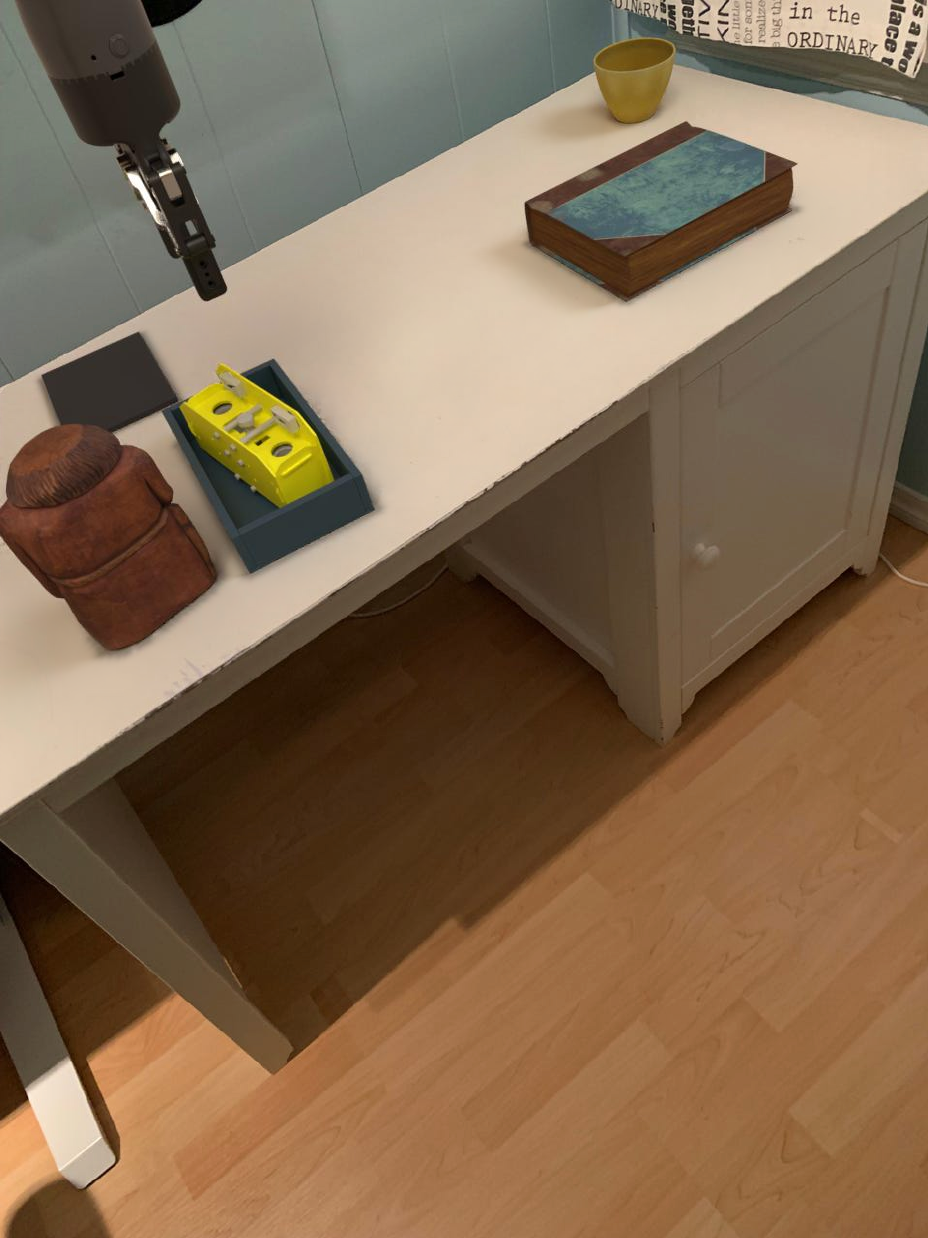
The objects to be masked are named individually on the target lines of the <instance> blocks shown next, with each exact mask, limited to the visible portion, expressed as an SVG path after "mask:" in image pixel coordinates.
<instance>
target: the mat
mask: <svg viewBox="0 0 928 1238" xmlns="http://www.w3.org/2000/svg"><path fill="white" fill-rule="evenodd" d="M41 378H42V382H43V384H44V386H45V389H46V392H47V394H48V396H49V399H50V402H51V405H52V407H53V409H54V412H55V415H56V417H57V420H58V422H59V424H60V425H68V424H87V425H93V426H98V427H100V428H102V429H104V430H106V431H108V432H111V433H113V432H115V431H118V430H120V429H122V428H124V427H126V426H128V425H130V424H132V423H135V422H136V421H139V420H141V419H143V418H146V417H147V416H149V415H152V414H154V413H156V412H158V411H161V410H163V409H165V408H168V407H170V406H172V405H174V404H176V403H179V398H178V397H177V395H176V393H175V392H174V390H173V388H172V387H171V384H170V383H169V381H168V379H167V378H166V376H165V374H164V373H163V371H162V369H161V367H160V365H159V363H158V362H157V361H156V359H155V357H154V355H153V354H152V352H151V350H150V348H149V346H148V345H147V343H146V341H145V339H144V337H143V336H142V334H141V333H140V331H136V332H134V333H132V334H130V335H128V336H127V335H126V337H123V338H120V339H119V340H117V341H114V342H112V343H109V344H108V345H107V344H106V345H105V346H103V347H101V348H98V349H95V350H94V351H91V352H89V353H86V354H85V355H83V356H81V357H78V358H75V359H73V360H72V361H69V362H67V363H64V364H63V365H60V366H58V367H56V368H54V369H51V370H49V371H46V372H45V373H42V374H41ZM60 425H59V426H60Z"/></svg>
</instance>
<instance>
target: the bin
mask: <svg viewBox="0 0 928 1238" xmlns="http://www.w3.org/2000/svg"><path fill="white" fill-rule="evenodd" d="M239 374H240V375H241V376H243V377H245V378H246V379H248V380H249V381H251V382H252V383H254V384H255V385H257V386H258V387H260V388H262V389H263V390H265V391H266V392H268V393H269V394H271V395H272V396H274V397H275V398H277V399H279V400H280V401H282V402H283V403H285V404H286V405H288V406H289V407H291V408H292V409H294V410H296V411H297V412H298V413H299V414H300V415H301V416H302V417H303V419H304V420H305V421H306V422H307V424H308V425H309V426H310V427H311V429H312V430H313V431H314V432H315V433H316V435H317V437H318V440H319V442H320V445H321V447H322V450H323V452H324V455H325V458H326V460H327V463H328V465H329V468H330V470H331V473H332V475H333V478H334V480H335V481H333V482H331V483H329V484H327V485H325V486H323V487H321V488H319V489H317V490H315V491H313V492H311V493H309V494H307V495H305V496H303V497H301V498H299V499H297V500H295V501H293V502H291V503H289V504H287V505H285V506H283V507H281V508H279V507H278V506H276V505H275V504H274V503H272V502H271V501H270V500H269V499H267V498H266V497H265V496H263V495H262V494H261V493H259V492H258V491H256V492H254V493H253V492H252V491H251V489H250V487H252V486H250V485H249V484H248V483H246V482H245V481H244V480H242V479H239V480H236V478H235V477H234V475H235V473H233V472H232V471H231V470H229V469H228V468H227V467H226V466H224V465H223V464H222V463H220V462H219V461H218V460H216V459H215V458H214V457H213V456H211V455H210V454H209V453H207V452H206V451H205V450H203V449H202V448H201V447H200V445H199V443H198V441H197V440H196V438H195V436H194V435H193V434H192V433H191V431H190V429H189V427H188V423H187V421H186V419H185V417H184V415H183V413H182V411H181V409H180V408H179V407H180V406H181V404H182V403H184V402H186V403H187V402H188V400H189V398H191V397H192V396H190V397H188V398H185V399H183V400H181V401H178V402H176V403H173V404H171V405H169V406H167V407H165V408H163V409H160V412H161V413H162V415H163V417H164V419H165V421H166V423H167V424H168V426H169V428H170V430H171V432H172V434H173V435H174V437H175V439H176V441H177V443H178V445H179V447H180V448H181V450H182V452H183V454H184V456H185V458H186V459H187V461H188V463H189V465H190V467H191V468H192V470H193V472H194V474H195V476H196V478H197V480H198V482H199V483H200V485H201V488H202V489H203V491H204V493H205V494H206V496H207V498H208V500H209V502H210V503H211V506H212V508H213V509H214V511H215V513H216V515H217V516H218V518H219V520H220V522H221V524H222V526H223V527H224V530H226V533H227V535H228V537H229V539H230V541H231V542H232V544H233V546H234V548H235V549H236V552H237V553H238V556H240V558H241V560H242V562H243V565H244V566H245V567H246V569H247V571H248V573H249V574H252V573H254V572H256V571H258V570H260V569H263V567H266V566H268V565H270V564H272V563H274V562H275V561H278V560H279V559H282V558H283V557H285V556H288V555H289V554H291V553H293V552H296V551H297V550H299V549H301V548H303V547H304V546H307V545H309V544H311V543H313V542H314V541H316V540H319V539H320V538H322V537H324V536H326V535H328V534H331V533H332V532H334V531H336V530H338V529H340V528H342V527H343V526H345V525H348V524H349V523H352V522H354V521H356V520H358V519H359V518H361V517H363V516H365V515H367V514H370V513H372V511H375V507H374V504H373V501H372V498H371V496H370V492H369V490H368V487H367V484H366V482H365V479H364V476H363V473H362V472H361V471H360V470H359V468H358V466H357V465H356V464H355V463H354V462H353V460H352V459H351V458H350V456H349V455H348V454H347V452H346V451H345V449H344V448H343V447H342V446H341V444H340V443H339V442H338V440H337V439H336V438H335V436H334V435H333V434H332V433H331V431H330V430H329V429H328V427H327V426H326V425H325V424H324V422H323V421H322V420H321V418H320V417H319V416H318V414H317V413H316V411H315V410H314V409H313V407H312V406H311V405H310V404H309V402H308V401H307V400H306V399H305V397H304V396H303V394H302V393H301V392H300V391H299V389H298V387H296V385H295V384H294V382H292V381H293V380H291V378H290V377H289V376H288V374H287V373H286V372H285V371H284V369H283V368H282V366H280V364H279V363H278V362H277V360H276V359H275V358H271V359H269V360H267V361H265V362H263V363H260V364H258V365H256V366H254V367H251V368H250V369H247V370H246V371H243V372H241V373H239ZM288 413H290V412H289V411H288ZM290 414H291V413H290ZM291 415H292V414H291ZM295 419H296V418H295ZM296 421H297V420H296ZM297 424H298V422H297ZM298 426H299V424H298ZM299 428H300V426H299Z"/></svg>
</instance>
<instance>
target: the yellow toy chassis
mask: <svg viewBox="0 0 928 1238" xmlns="http://www.w3.org/2000/svg"><path fill="white" fill-rule="evenodd" d="M215 372H216V374H217V376H218V379H219V380H220V383H210V385H208V386H206V387H204V388H203V389H202V390H200V391H198V392H197V393H195V394H193V395H192V396H190V397H191V398H189V397H188V398H189V400H188V402H187V403H186V402H184V403H182V404H181V406H180V407H179V408H180V409H181V411H182V413H183V415H184V417H185V419H186V421H187V423H188V427H189V429H190V431H191V433H192V434H193V435H194V436H195V438H196V440H197V441H198V443H199V445H200V447H201V448H202V449H203V450H205V451H206V452H207V453H209V454H210V455H211V456H213V457H214V458H215V459H216V460H218V461H219V462H220V463H222V464H223V465H224V466H226V467H227V468H228V469H229V470H231V471H232V472H233V473H235V475H234V477H235V478H236V480H239V479H242V480H244V481H245V482H246V483H248V484H249V485H250V486H252V487H250V489H251V491H252V492H253V493H254V492H256V491H258V492H259V493H261V494H262V495H263V496H265V497H266V498H267V499H269V500H270V501H271V502H272V503H274V504H275V505H276V506H278V507H279V508H281V507H283V506H285V505H287V504H289V503H291V502H293V501H295V500H297V499H299V498H301V497H303V496H305V495H307V494H309V493H311V492H313V491H315V490H317V489H319V488H321V487H323V486H325V485H327V484H329V483H331V482H333V481H335V480H334V478H333V475H332V473H331V470H330V468H329V465H328V463H327V460H326V458H325V455H324V452H323V450H322V447H321V445H320V442H319V440H318V437H317V435H316V433H315V432H314V431H313V430H312V429H311V427H310V426H309V425H308V424H307V422H306V421H305V420H304V419H303V417H302V416H301V415H300V414H299V413H298V412H297V411H296V410H294V409H292V408H291V407H289V406H288V405H286V404H285V403H283V402H282V401H280V400H279V399H277V398H275V397H274V396H272V395H271V394H269V393H268V392H266V391H265V390H263V389H262V388H260V387H258V386H257V385H255V384H254V383H252V382H251V381H249V380H248V379H246V378H245V377H243V376H241V375H240V374H241V373H238V372H237V371H236V370H234V369H232V368H231V367H229V366H228V365H226V364H225V363H223V362H220V363H219V364H218V366H217V368H216V369H215ZM288 411H289V412H290V413H291V414H292V415H291V414H290V413H288ZM295 418H296V419H295ZM296 420H297V421H296ZM297 422H298V424H299V426H300V428H299V426H298V424H297Z"/></svg>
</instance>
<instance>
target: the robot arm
mask: <svg viewBox="0 0 928 1238" xmlns="http://www.w3.org/2000/svg"><path fill="white" fill-rule="evenodd" d="M13 1H14V3H15V6H16V9H17V11H18V12H17V13H18V15H19V17H20V20H21V22H22V25H23V27H24V30H25V33H26V34H27V36H28V38H29V40H30V42H31V44H32V46H33V48H34V51H35V54H36V55H37V57H38V59H39V61H40V63H41V65H42V67H43V69H44V71H45V73H46V75H47V77H48V80H49V81H50V83H51V86H52V87H53V89H54V92H55V93H56V95H57V97H58V99H59V101H60V103H61V106H62V107H63V109H64V111H65V113H66V115H67V118H68V119H69V122H70V124H71V125H72V127H73V129H74V132H75V134H76V135H77V137H78V138H79V139H80V140H81V141H82V142H83V143H84V144H87V145H88V146H89V145H90V146H93V147H102V148H103V147H113V146H114V148H115V151H116V152H117V155H114V159H115V161H116V164H117V166H118V168H119V169H120V172H121V173H122V175H123V177H124V179H125V180H126V181H127V184H128V186H129V188H130V189H131V191H132V194H133V195H134V197H135V198H136V200H137V201H138V202H139V201H140V202H141V206H142V208H143V210H144V211H146V212H147V213H148V214H149V215H150V216H151V219H152V221H153V223H154V225H155V227H156V229H157V231H158V234H159V236H160V238H161V240H162V242H163V245H164V247H165V249H166V252H167V253H168V255H169V256H170V257H171V258H172V259H175V260H178V259H180V258H181V260H182V262H183V265H184V266H185V270H186V271H187V273H188V275H189V278H190V280H191V282H192V284H193V287H194V289H195V290H196V293H197V295H198V296H199V298H200V299H201V300H202V301H203V302H210V301H212V300H215V299H216V298H219V297H222V296H224V295H225V294H226V293H227V291H228V286H227V283H226V281H225V278H224V276H223V274H222V271H221V269H220V266H219V264H218V262H217V260H216V257H215V255H214V253H213V249H215V248H217V245H216V238H215V236H214V234H212V232H211V230H210V228H209V225H208V223H207V221H206V219H205V216H204V214H203V213H204V212H203V211H202V208H201V204H200V202H199V200H198V198H197V196H196V193H195V192H194V190H193V188H192V185H191V183H190V181H189V179H188V176H187V174H188V172H187V170H186V168H185V165H184V162H183V161H182V157H180V154H179V153H178V151H177V149H176V147H175V146H173V147H171V145H170V143H169V140H168V139H167V138H166V136H162V137H161V136H160V135H161V132H162V130H163V128H164V127H165V126H166V125H167V124H170V123H171V122H173V121H174V120H175V118H176V117H177V116H178V114H179V112H180V110H181V99H180V96H179V93H178V90H177V87H176V85H175V83H174V81H173V79H172V78H173V77H172V75H171V73H170V71H169V68H168V65H167V63H166V61H165V58H164V56H163V53H162V51H161V48H160V45H159V42H158V40H157V38H156V35H155V33H154V31H153V28H152V25H151V22H150V20H149V18H148V15H147V13H146V10H145V7H144V4H143V2H142V0H13ZM189 221H190V222H191V223H192V225H193V227H194V229H195V231H196V232H194V233H192V234H191V233H190V230H189V228H188V225H187V222H189Z"/></svg>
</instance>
